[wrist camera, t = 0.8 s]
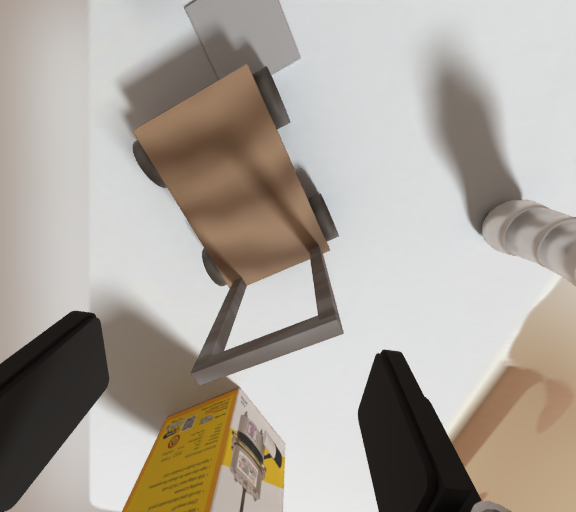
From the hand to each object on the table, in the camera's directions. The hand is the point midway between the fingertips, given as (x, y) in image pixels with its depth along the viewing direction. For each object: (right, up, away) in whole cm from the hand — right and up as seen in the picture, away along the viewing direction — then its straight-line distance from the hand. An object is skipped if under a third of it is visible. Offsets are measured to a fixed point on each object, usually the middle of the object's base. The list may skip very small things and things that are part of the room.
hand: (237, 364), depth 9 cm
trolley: (-3, +12, +26) cm, 29 cm away
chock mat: (-3, +27, +20) cm, 34 cm away
